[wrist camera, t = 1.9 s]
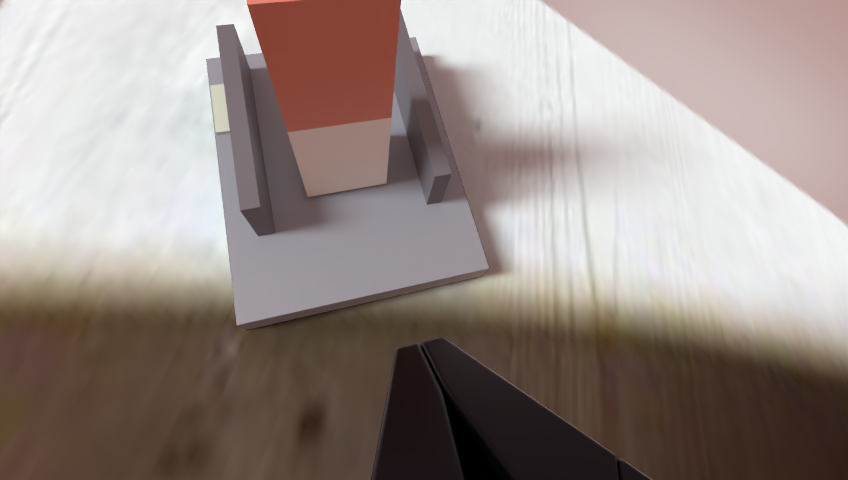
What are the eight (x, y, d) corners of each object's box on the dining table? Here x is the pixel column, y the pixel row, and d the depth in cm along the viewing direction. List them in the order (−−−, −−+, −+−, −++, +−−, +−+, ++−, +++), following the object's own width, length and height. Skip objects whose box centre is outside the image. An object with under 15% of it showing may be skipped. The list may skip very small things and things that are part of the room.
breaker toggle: (386, 183, 22) (401, -8, 11) (307, 197, 21) (246, 4, 11) (373, 134, 22) (377, -84, 12) (298, 146, 22) (234, -77, 11)
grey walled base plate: (481, 276, 22) (507, 248, 18) (246, 330, 20) (213, 312, 16) (413, 55, 27) (421, -7, 23) (215, 78, 24) (183, 12, 20)
